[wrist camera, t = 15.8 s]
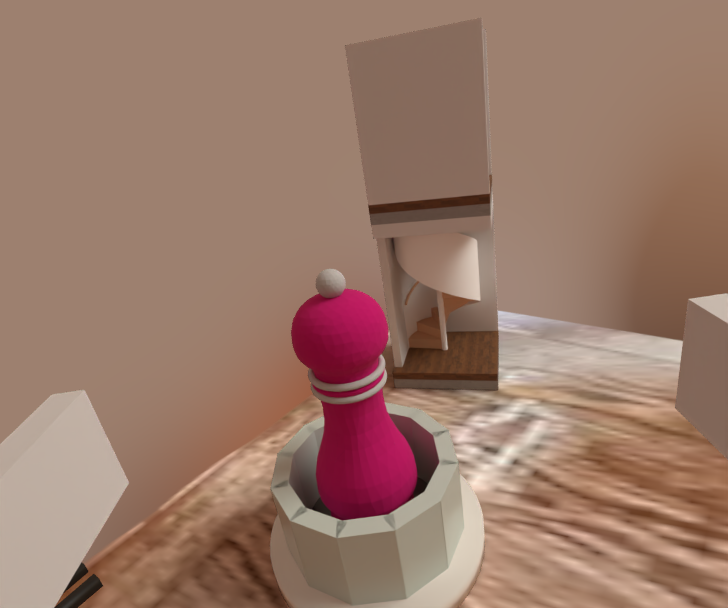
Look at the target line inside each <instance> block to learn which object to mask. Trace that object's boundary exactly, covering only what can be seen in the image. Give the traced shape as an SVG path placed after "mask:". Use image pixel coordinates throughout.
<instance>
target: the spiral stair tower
mask: <svg viewBox="0 0 728 608" xmlns="http://www.w3.org/2000/svg"><path fill="white" fill-rule="evenodd" d="M345 49H346V56H347V63H348V70H349V76H350V84H351V91H352V97H353V104H354V111H355V118H356V125H357V131H358V138H359V145H360V152H361V159H362V165H363V172H364V179H365V186H366V193H367V200H368V206H369V213H370V220H371V227H372V234H373V239H376V240H377V246H378V253H379V260H380V267H381V274H382V281H383V288H384V295H385V302H386V309H387V316H388V323H389V330H390V337H391V344H392V351H393V358H394V365H395V368H394V371H393V377H394V384H395V388H427V389H471V390H498V368H499V336H498V312H497V289H496V264H495V241H494V216H493V193H492V168H491V146H490V121H489V96H488V73H487V48H486V29H484V30H483V25H482V18H477V19H473V20H468V21H463V22H458V23H453V24H448V25H443V26H438V27H434V28H428V29H424V30H418V31H413V32H409V33H403V34H399V35H394V36H389V37H384V38H379V39H374V40H369V41H364V42H359V43H354V44H349V45H345Z"/></svg>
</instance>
